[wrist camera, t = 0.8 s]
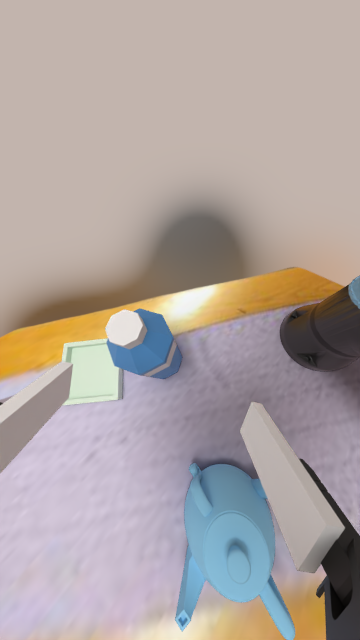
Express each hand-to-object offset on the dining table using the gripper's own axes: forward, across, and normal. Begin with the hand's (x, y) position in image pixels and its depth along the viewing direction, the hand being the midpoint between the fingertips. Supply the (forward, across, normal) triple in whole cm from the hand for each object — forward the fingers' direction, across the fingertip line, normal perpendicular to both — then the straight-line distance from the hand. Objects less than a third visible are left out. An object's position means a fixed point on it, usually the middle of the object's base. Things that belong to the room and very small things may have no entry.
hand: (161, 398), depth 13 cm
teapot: (+12, +18, -29) cm, 36 cm away
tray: (+28, -15, -18) cm, 36 cm away
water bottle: (+28, 0, -11) cm, 30 cm away
